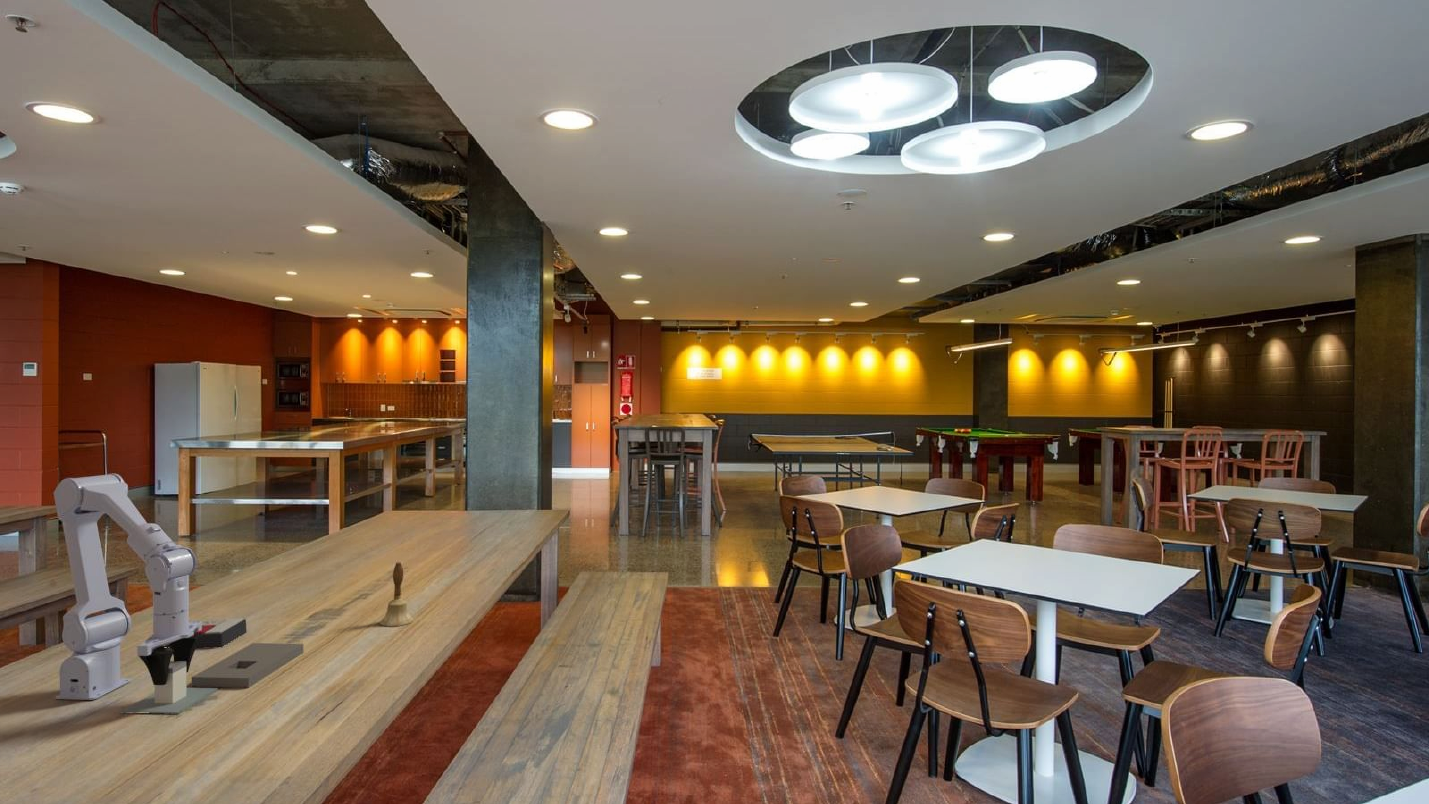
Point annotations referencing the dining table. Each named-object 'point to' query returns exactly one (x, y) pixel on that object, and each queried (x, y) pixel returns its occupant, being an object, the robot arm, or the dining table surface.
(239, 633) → the black and red box
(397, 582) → the hand bell
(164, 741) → the dining table surface
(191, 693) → the mat
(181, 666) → the plug
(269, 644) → the grey slotted plate
